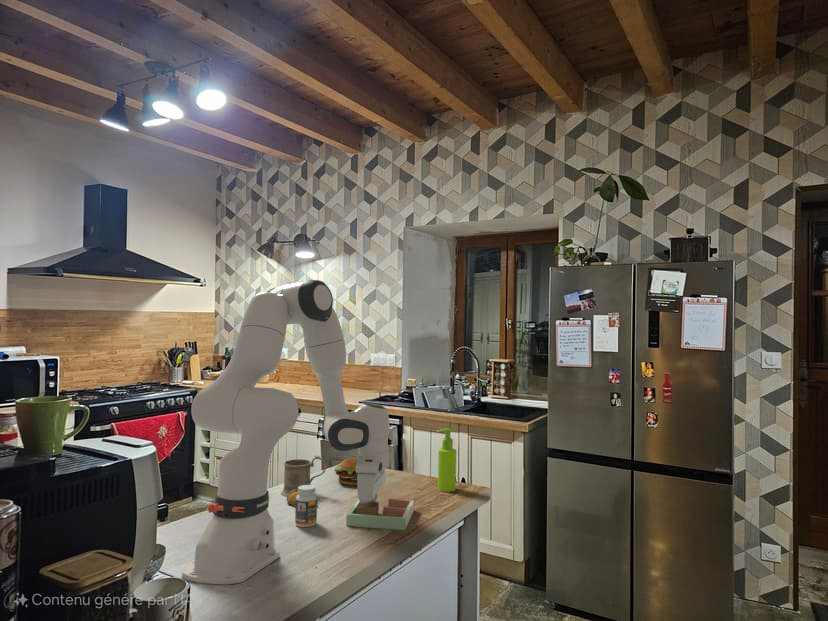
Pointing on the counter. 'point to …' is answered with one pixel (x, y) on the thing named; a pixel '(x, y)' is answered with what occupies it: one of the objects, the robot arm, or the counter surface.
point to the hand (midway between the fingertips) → (372, 508)
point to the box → (384, 516)
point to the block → (367, 508)
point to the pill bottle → (306, 506)
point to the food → (347, 471)
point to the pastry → (292, 497)
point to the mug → (298, 474)
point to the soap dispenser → (447, 464)
